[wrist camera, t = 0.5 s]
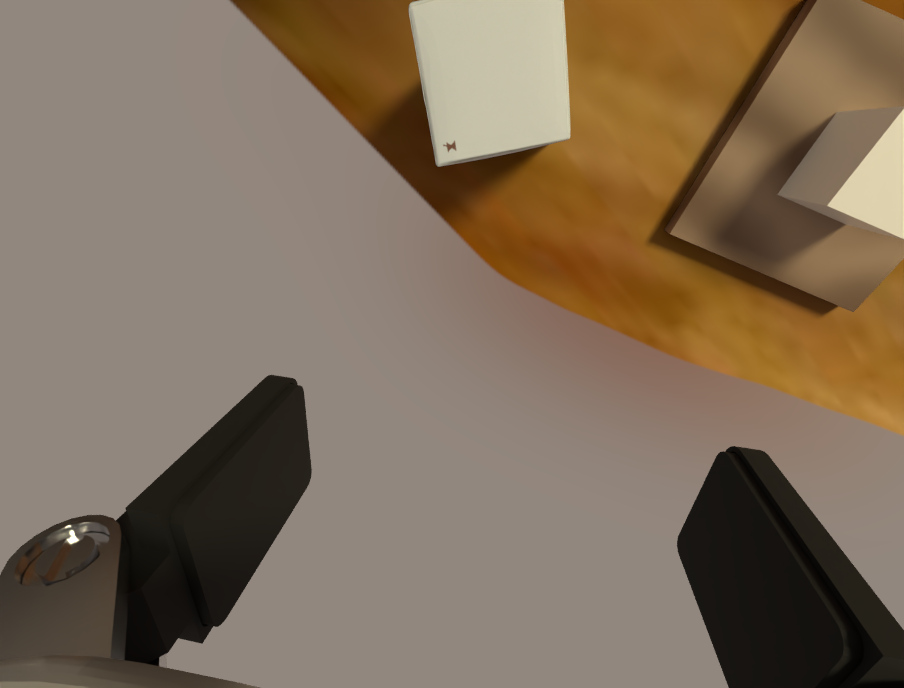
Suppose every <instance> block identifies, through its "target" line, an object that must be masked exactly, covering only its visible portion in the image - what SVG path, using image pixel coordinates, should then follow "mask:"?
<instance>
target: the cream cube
mask: <svg viewBox="0 0 904 688" xmlns="http://www.w3.org/2000/svg"><path fill="white" fill-rule="evenodd" d="M777 195H779V196H782V197H784V198H786V199H788V200H791V201H793V202H795V203H798V204H800V205H802V206H805V207H807V208H809V209H812V210H814V211H816V212H818V213H821V214H823V215H825V216H828V217H830V218H832V219H835V220H837V221H839V222H842V223H844V224H846V225H850V226H854V227H857V228H861V229H865V230H869V231H872V232H876V233H880V234H883V235H887V236H891V237H895V238H898V239H902V240H904V106H902V107H890V108H878V109H866V110H853V111H841V112H837V113H836V114H835V115H834V117H833V118H832V120H831V121H830V122H829V124H828V125H827V126H826V128H825V129H824V131H823V132H822V133H821V135H820V136H819V137H818V139H817V140H816V142H815V143H814V144H813V146H812V147H811V149H810V150H809V151H808V153H807V154H806V155H805V157H804V158H803V160H802V161H801V162H800V164H799V165H798V166H797V168H796V169H795V171H794V172H793V173H792V175H791V176H790V178H789V179H788V180H787V182H786V183H785V184H784V186H783V187H782V189H781V190H780V191H779V193H778V194H777Z"/></svg>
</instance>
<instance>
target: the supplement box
mask: <svg viewBox="0 0 904 688" xmlns="http://www.w3.org/2000/svg"><path fill="white" fill-rule="evenodd" d="M409 16H410V21H411V27H412V33H413V38H414V44H415V49H416V55H417V60H418V66H419V72H420V77H421V83H422V90H423V96H424V101H425V105H426V110H427V116H428V121H429V127H430V133H431V139H432V144H433V150H434V156H435V162H436V165H437V166H438V167H440V166H446V165H452V164H458V163H464V162H470V161H475V160H481V159H486V158H491V157H496V156H501V155H506V154H510V153H515V152H519V151H524V150H528V149H532V148H536V147H541V146H545V145H548V144H552V143H556V142H560V141H564V140H568V139H569V138H570V106H569V84H568V64H567V47H566V30H565V14H564V0H419V1H415V2H412V3H410V4H409Z"/></svg>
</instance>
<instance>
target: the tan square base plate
mask: <svg viewBox="0 0 904 688" xmlns="http://www.w3.org/2000/svg"><path fill="white" fill-rule="evenodd" d="M902 106H904V20H903V19H901V18H899V17H896V16H894V15H892V14H890V13H888V12H885V11H883V10H881V9H879V8H877V7H874V6H872V5H870V4H868V3H865V2H863V1H861V0H807V1H806V2H805V4H804V6H803V7H802V9H801V10H800V12H799V14H798V15H797V17H796V18H795V20H794V22H793V23H792V25H791V26H790V28H789V30H788V31H787V33H786V35H785V36H784V38H783V39H782V41H781V43H780V44H779V46H778V47H777V49H776V51H775V52H774V54H773V55H772V57H771V59H770V60H769V62H768V63H767V65H766V67H765V68H764V70H763V72H762V73H761V75H760V76H759V78H758V80H757V81H756V83H755V84H754V86H753V88H752V89H751V91H750V92H749V94H748V96H747V97H746V99H745V101H744V102H743V104H742V105H741V107H740V109H739V110H738V112H737V113H736V115H735V117H734V118H733V120H732V121H731V123H730V125H729V126H728V128H727V129H726V131H725V133H724V134H723V136H722V138H721V139H720V141H719V142H718V144H717V146H716V147H715V149H714V150H713V152H712V154H711V155H710V157H709V158H708V160H707V162H706V163H705V165H704V166H703V168H702V170H701V171H700V173H699V175H698V176H697V178H696V179H695V181H694V183H693V184H692V186H691V187H690V189H689V191H688V192H687V194H686V195H685V197H684V199H683V200H682V202H681V204H680V205H679V207H678V208H677V210H676V212H675V213H674V215H673V216H672V218H671V220H670V221H669V223H668V224H667V226H666V228H665V229H664V231H666V232H667V233H669V234H671V235H673V236H676V237H678V238H680V239H683V240H685V241H687V242H690V243H692V244H694V245H697V246H699V247H701V248H704V249H706V250H708V251H711V252H713V253H716V254H718V255H720V256H723V257H725V258H727V259H730V260H732V261H734V262H737V263H739V264H741V265H744V266H746V267H748V268H751V269H753V270H755V271H758V272H760V273H762V274H765V275H767V276H770V277H772V278H774V279H777V280H779V281H781V282H784V283H786V284H788V285H791V286H793V287H795V288H798V289H800V290H802V291H805V292H807V293H809V294H812V295H814V296H816V297H819V298H821V299H824V300H826V301H828V302H831V303H833V304H835V305H838V306H840V307H842V308H845V309H847V310H849V311H852V312H854V311H855V310H856V309H857V308H858V307H859V306H860V305H861V304H862V302H863V301H864V300H865V299H866V298H867V297H868V296H869V295H870V294H871V293H872V292H873V291H874V290H875V289H876V287H877V286H878V285H879V284H880V283H881V282H882V281H883V280H884V279H885V278H886V277H887V276H888V275H889V274H890V273H891V271H892V270H893V269H894V268H895V267H896V266H897V265H898V264H899V263H900V262H901V261H902V260H903V259H904V240H902V239H898V238H895V237H891V236H887V235H883V234H880V233H876V232H872V231H869V230H865V229H861V228H857V227H854V226H850V225H846V224H844V223H842V222H839V221H837V220H835V219H832V218H830V217H828V216H825V215H823V214H821V213H818V212H816V211H814V210H812V209H809V208H807V207H805V206H802V205H800V204H798V203H795V202H793V201H791V200H788V199H786V198H784V197H782V196H779V195H777V194H778V193H779V191H780V190H781V189H782V187H783V186H784V184H785V183H786V182H787V180H788V179H789V178H790V176H791V175H792V173H793V172H794V171H795V169H796V168H797V166H798V165H799V164H800V162H801V161H802V160H803V158H804V157H805V155H806V154H807V153H808V151H809V150H810V149H811V147H812V146H813V144H814V143H815V142H816V140H817V139H818V137H819V136H820V135H821V133H822V132H823V131H824V129H825V128H826V126H827V125H828V124H829V122H830V121H831V120H832V118H833V117H834V115H835V114H836V113H837V112H841V111H853V110H866V109H878V108H890V107H902Z"/></svg>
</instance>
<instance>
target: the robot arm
mask: <svg viewBox="0 0 904 688" xmlns="http://www.w3.org/2000/svg"><path fill="white" fill-rule="evenodd" d="M310 479H311V460H310V450H309V441H308V430H307V420H306V409H305V399H304V391H303V388H302V386H298V385H297V382H296V380H295V379H293V378H287V377H281V376H274V375H269V376H267V377H266V378H265V379H264V380H262V381H261V382H260V383H259V384H258V385H257V386H256V387H255V388H254V389H253V390H252V391H251V392H250V393H248V394H247V395H246V396H245V397H244V398H243V399H242V400H241V401H240V402H239V403H238V404H237V405H236V406H234V407H233V408H232V409H231V410H230V411H229V412H228V413H227V414H226V415H225V416H224V417H223V418H222V419H221V420H219V421H218V422H217V423H216V424H215V425H214V426H213V427H212V428H211V429H210V430H209V431H208V432H207V433H206V434H204V435H203V436H202V437H201V438H200V439H199V440H198V441H197V442H196V443H195V444H194V445H193V446H192V447H190V448H189V449H188V450H187V451H186V452H185V453H184V454H183V455H182V456H181V457H180V458H179V459H178V460H177V461H175V462H174V463H173V464H172V465H171V466H170V467H169V468H168V469H167V470H166V471H165V472H164V473H163V474H162V475H160V477H158V478H157V479H156V480H155V481H154V482H153V483H152V484H151V485H150V486H149V487H148V488H146V490H144V491H143V492H142V493H141V494H140V495H139V496H138V497H137V498H136V499H135V500H134V501H133V502H131V503H130V504H129V505H128V506H127V507H126V512H125V513H124V514H123V515H121V516H120V517H119V518H118V519H117V520H116V521H115V520H114V519H113V518H111V517H107V516H104V515H87V516H82V517H77V518H72V519H69V520H67V521H64V522H61V523H59V524H56V525H54V526H52V527H50V528H48V529H46V530H44V531H43V532H41V533H39V534H38V535H36V536H34V537H33V538H32V539H30V540H29V541H28V542H26V543H25V544H24V545H22V546H21V547H20V548H19V549H18V550H17V551H16V552H15V553H14V554H13V555H12V556H11V557H10V559H9V560H8V561H7V563H6V565H5V567H4V569H3V570H2V572H1V575H0V688H259V687H254V686H250V685H246V684H242V683H237V682H233V681H227V680H223V679H218V678H213V677H208V676H203V675H199V674H194V673H188V672H184V671H179V670H174V669H169V668H167V653H168V652H169V650H170V649H171V648H172V646H173V645H174V643H175V642H176V640H177V639H178V638H180V639H184V640H189V641H194V642H198V643H203V642H204V640H205V639H206V637H207V635H208V634H209V632H210V631H211V629H212V627H213V626H215V627H218V626H219V625H221V624H222V623H223V622H224V620H225V619H226V618H227V616H228V615H229V613H230V611H231V610H232V608H233V607H234V605H235V603H236V602H237V600H238V598H239V597H240V595H241V593H242V592H243V590H244V589H245V587H246V585H247V584H248V582H249V581H250V579H251V577H252V576H253V574H254V573H255V571H256V569H257V567H258V566H259V564H260V562H261V561H262V560H263V558H264V556H265V555H266V553H267V551H268V550H269V548H270V547H271V545H272V543H273V542H274V540H275V538H276V537H277V535H278V534H279V532H280V530H281V529H282V527H283V525H284V524H285V522H286V521H287V519H288V517H289V516H290V514H291V513H292V511H293V509H294V508H295V506H296V504H297V503H298V501H299V500H300V498H301V496H302V495H303V493H304V492H305V490H306V488H307V486H308V485H309V482H310ZM677 547H678V553H679V556H680V559H681V561H682V564H683V567H684V569H685V572H686V574H687V577H688V580H689V583H690V585H691V588H692V590H693V593H694V596H695V599H696V601H697V604H698V606H699V609H700V612H701V615H702V617H703V620H704V623H705V625H706V628H707V631H708V633H709V636H710V639H711V641H712V644H713V647H714V649H715V652H716V655H717V657H718V660H719V663H720V665H721V668H722V671H723V673H724V676H725V679H726V681H727V684H728V687H729V688H904V630H903V629H902V627H901V626H900V625H899V624H898V622H897V621H896V620H895V618H894V617H893V616H892V615H891V613H890V612H889V611H888V609H887V608H886V607H885V605H884V604H883V603H882V602H881V600H880V599H879V598H878V597H877V595H876V594H875V593H874V592H873V590H872V589H871V587H870V586H869V585H868V584H867V582H866V581H865V580H864V579H863V577H862V576H861V574H860V573H859V572H858V571H857V569H856V568H855V567H854V565H853V564H852V563H851V562H850V560H849V559H848V558H847V556H846V555H845V554H844V552H843V551H842V550H841V549H840V547H839V546H838V545H837V543H836V542H835V541H834V540H833V538H832V537H831V536H830V534H829V533H828V532H827V531H826V529H825V528H824V527H823V525H822V524H821V523H820V521H819V520H818V519H817V518H816V516H815V515H814V514H813V512H812V511H811V510H810V509H809V507H808V506H807V505H806V504H805V502H804V501H803V500H802V498H801V497H800V496H799V494H798V493H797V492H796V490H795V489H794V488H793V487H792V485H791V484H790V483H789V481H788V480H787V479H786V478H785V476H784V475H783V474H782V473H781V471H780V470H779V468H778V467H777V466H776V465H775V463H774V462H773V461H772V459H771V458H770V457H769V456H768V455H767V454H766V453H765V452H763V451H761V450H755V449H748V448H741V447H735V446H733V447H730V448H728V449H727V450H726V452H720V453H719V454H718V455H717V456H716V459H715V461H714V463H713V465H712V467H711V469H710V471H709V473H708V475H707V477H706V479H705V481H704V484H703V486H702V488H701V490H700V492H699V494H698V496H697V498H696V500H695V502H694V504H693V507H692V509H691V511H690V513H689V515H688V517H687V519H686V521H685V523H684V525H683V527H682V530H681V532H680V534H679V536H678V541H677Z"/></svg>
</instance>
